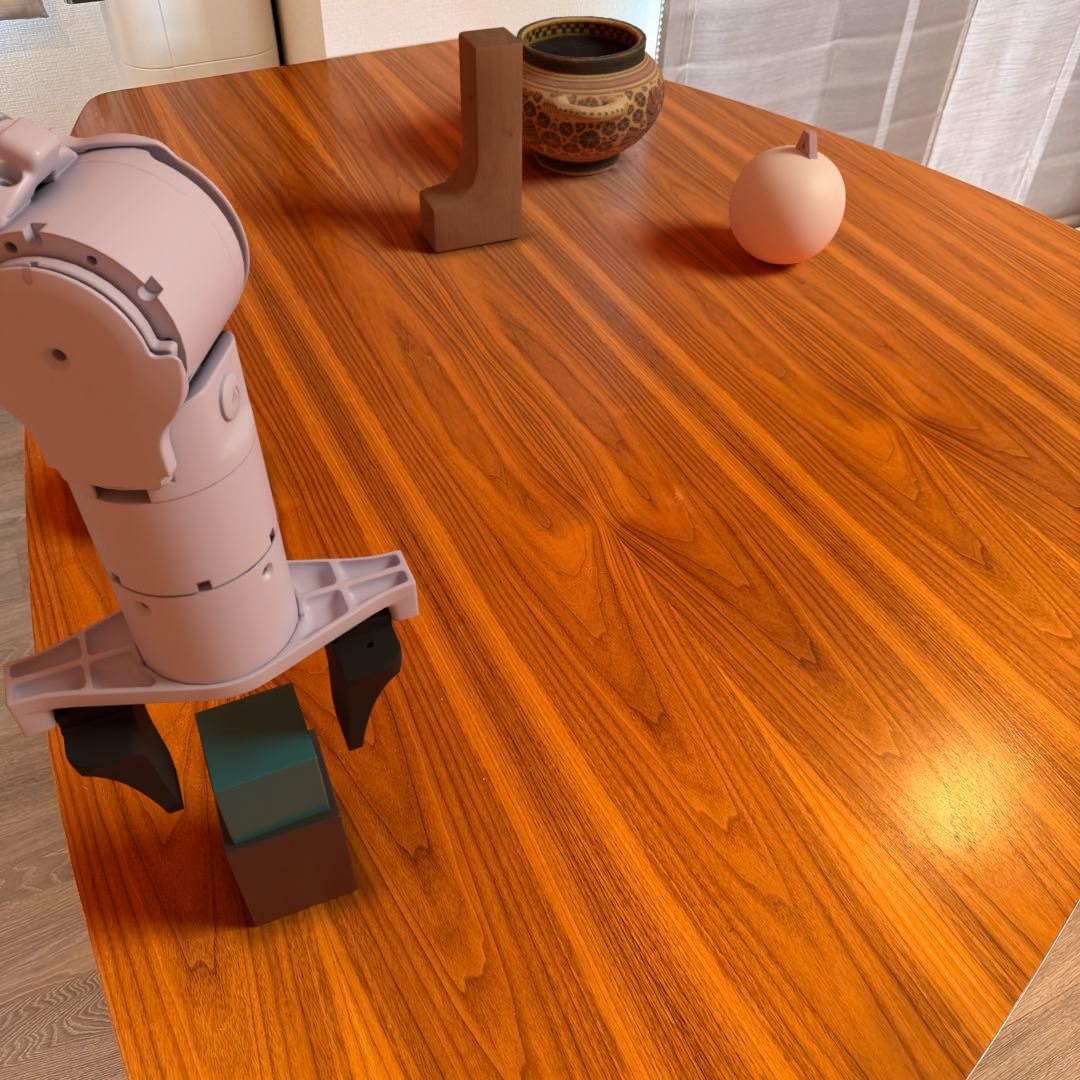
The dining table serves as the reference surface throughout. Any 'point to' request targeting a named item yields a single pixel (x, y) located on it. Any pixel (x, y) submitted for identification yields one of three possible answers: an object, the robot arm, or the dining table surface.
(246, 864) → the dark brown block
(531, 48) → the ceramic bowl
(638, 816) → the dining table surface
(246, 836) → the teal block
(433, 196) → the wooden block
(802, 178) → the ornament
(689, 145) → the dining table surface
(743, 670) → the dining table surface
